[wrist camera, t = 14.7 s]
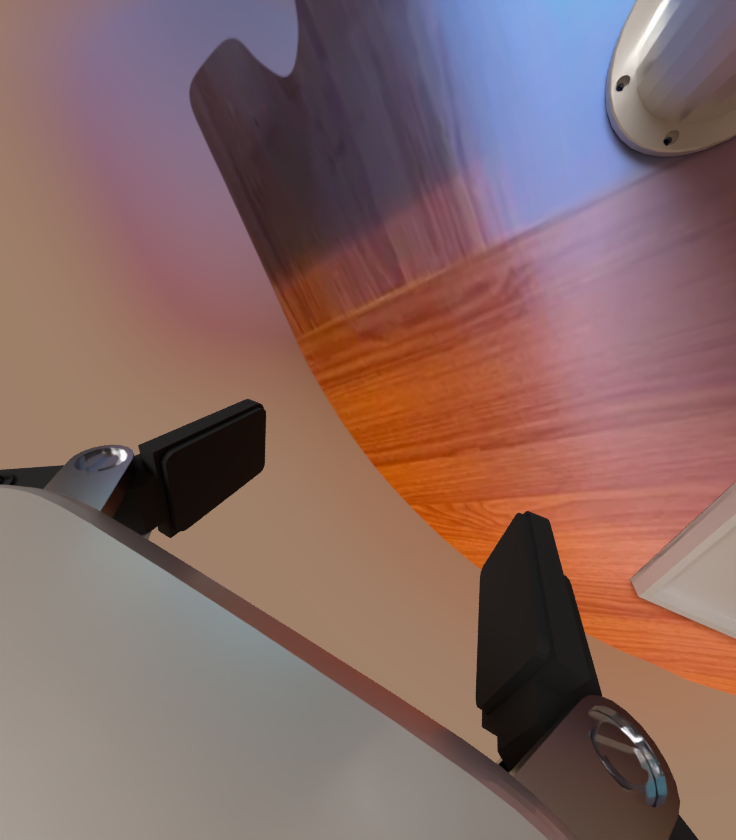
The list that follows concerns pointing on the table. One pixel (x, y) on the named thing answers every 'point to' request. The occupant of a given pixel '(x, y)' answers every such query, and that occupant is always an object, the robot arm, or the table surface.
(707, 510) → the tray
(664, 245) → the table surface
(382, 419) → the table surface
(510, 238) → the table surface
